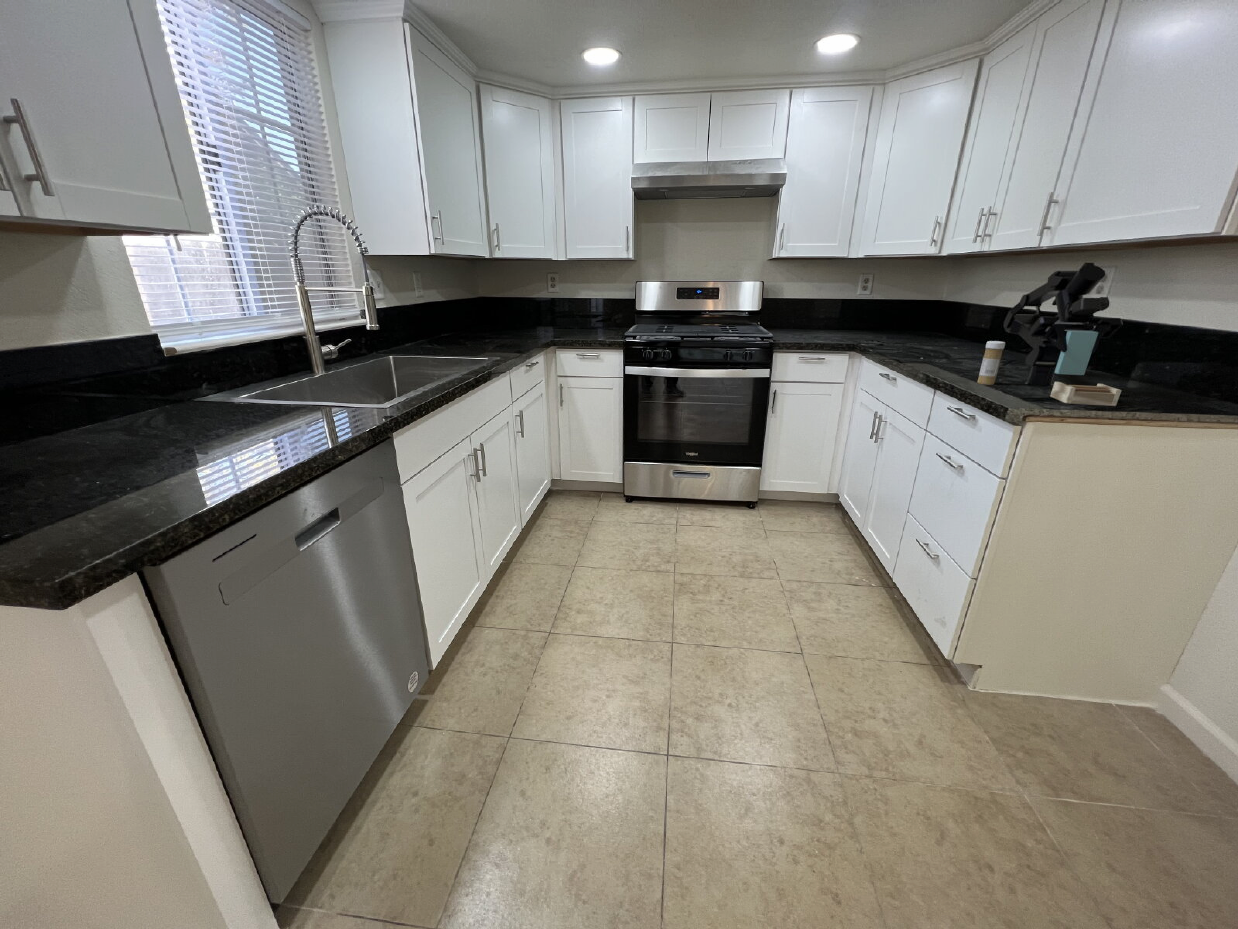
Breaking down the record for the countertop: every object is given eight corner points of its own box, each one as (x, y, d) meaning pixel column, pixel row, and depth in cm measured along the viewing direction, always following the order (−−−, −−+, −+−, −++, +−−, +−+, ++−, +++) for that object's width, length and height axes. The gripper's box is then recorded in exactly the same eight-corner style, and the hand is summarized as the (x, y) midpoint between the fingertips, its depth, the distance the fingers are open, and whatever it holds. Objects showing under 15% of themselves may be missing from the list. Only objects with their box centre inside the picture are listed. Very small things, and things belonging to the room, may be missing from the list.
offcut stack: (1064, 399, 132) (1069, 384, 131) (1098, 401, 130) (1103, 386, 128) (1070, 402, 129) (1075, 387, 128) (1105, 404, 127) (1110, 388, 126)
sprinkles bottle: (995, 385, 153) (1007, 341, 148) (991, 387, 150) (1004, 342, 145) (977, 383, 156) (989, 340, 151) (974, 385, 153) (985, 341, 148)
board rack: (1049, 398, 136) (1054, 381, 134) (1095, 401, 133) (1102, 383, 132) (1065, 405, 129) (1071, 387, 127) (1114, 408, 126) (1121, 390, 124)
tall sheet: (1054, 372, 139) (1067, 330, 135) (1079, 373, 137) (1094, 331, 133) (1058, 373, 137) (1071, 331, 133) (1084, 375, 136) (1098, 332, 132)
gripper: (1047, 286, 135) (1055, 331, 129) (1131, 286, 130) (1143, 333, 124) (1026, 313, 145) (1032, 357, 139) (1103, 314, 140) (1113, 360, 134)
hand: (1079, 351), depth 134 cm, fingers closed on tall sheet, 6 cm apart
